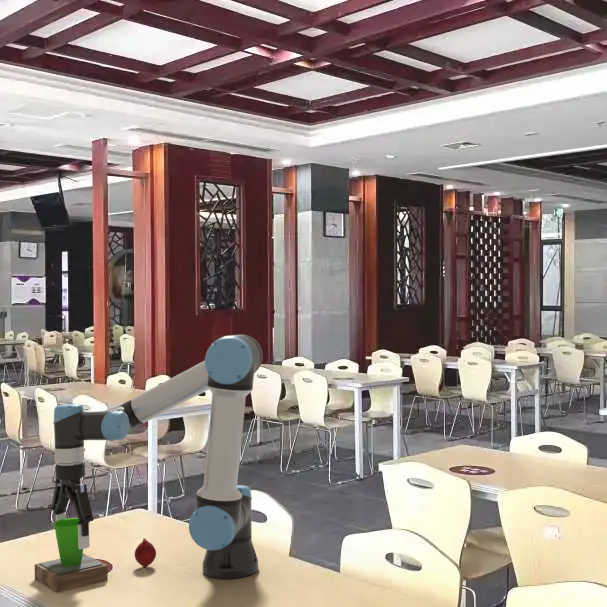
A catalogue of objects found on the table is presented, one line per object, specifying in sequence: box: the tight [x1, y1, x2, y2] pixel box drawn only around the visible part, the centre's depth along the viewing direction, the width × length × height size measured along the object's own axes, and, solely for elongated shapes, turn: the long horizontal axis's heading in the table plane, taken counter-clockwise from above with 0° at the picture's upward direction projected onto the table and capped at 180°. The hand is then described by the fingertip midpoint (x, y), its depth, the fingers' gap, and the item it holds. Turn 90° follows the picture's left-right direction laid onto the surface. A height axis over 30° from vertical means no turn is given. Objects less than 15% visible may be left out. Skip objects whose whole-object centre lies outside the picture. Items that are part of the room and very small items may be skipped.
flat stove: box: [34, 553, 109, 594], centre depth 218 cm, size 14×14×4 cm
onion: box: [134, 537, 157, 568], centre depth 228 cm, size 6×6×8 cm
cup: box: [52, 517, 84, 567], centre depth 218 cm, size 9×9×11 cm
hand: (72, 543), depth 218 cm, fingers open, 13 cm apart
